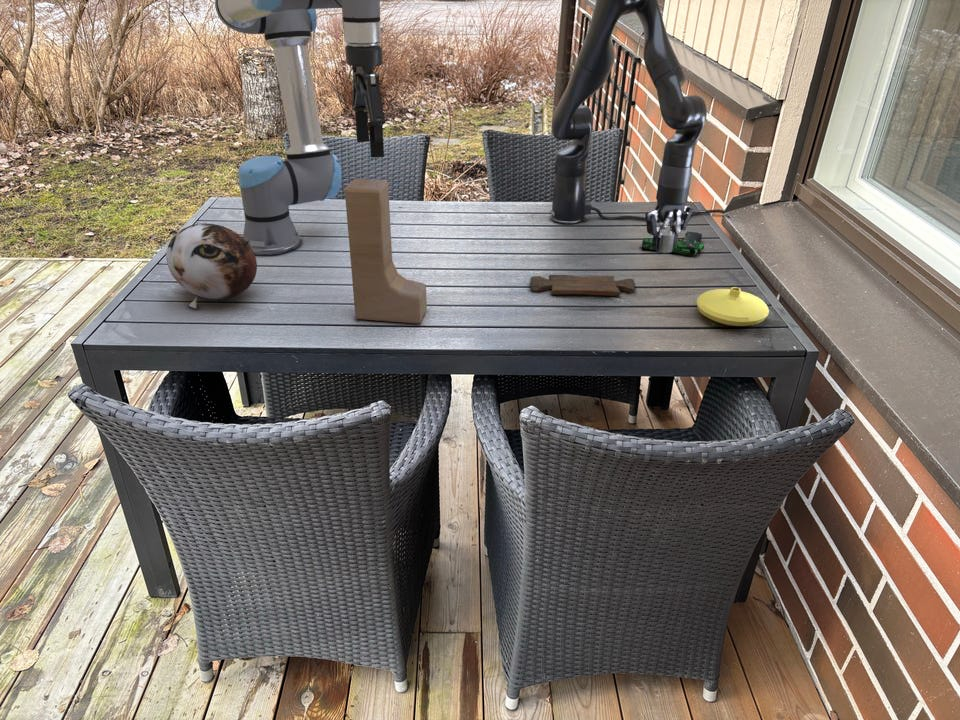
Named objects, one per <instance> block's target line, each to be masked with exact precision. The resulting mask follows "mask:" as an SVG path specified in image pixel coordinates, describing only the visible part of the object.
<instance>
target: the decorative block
mask: <svg viewBox="0 0 960 720" xmlns="http://www.w3.org/2000/svg"><path fill="white" fill-rule="evenodd" d="M344 198H345V199H344V200H345V209H346V221H347V222H346V223H347V234H348V235H347V236H348V246H349V257H350V266H351V267H350V268H351V270H350V271H351V278H352V279H351V281H352V293H353V306H354V316H355V319H357V320H366V321H367V320H369V321H380V322H391V323H404V324H405V323H406V324H421V322H422V320H423V318H424V316H425V314H426V312H427V309H428V305H427V302H428V301H427V300H428V299H427V285H426V283H424V282H419V281H415V280H411V279H407V278H406V277H404V276H403V275H401V274H400V273H398V270H397V268H396V265H395V263H394V261H393V248H392V231H391V228H392V227H391V211H390V210H391V209H390V192H389V182H388V180H386V179H378V178H377V179H375V178H360V177H359V178H353V179H352V181H351V182H350V183H348V185H346V186H345V188H344Z"/></svg>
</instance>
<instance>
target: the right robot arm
mask: <svg viewBox="0 0 960 720" xmlns="http://www.w3.org/2000/svg"><path fill="white" fill-rule="evenodd" d="M633 13H635V14H636V16H637V17H638V18H639V21H640V23H641V25H642V28H643V37H644V38H643V62H644V67H645V69H646V71H647V73H648V75H649V78H650V80H651V82H652V84H653V86H654V88H655V89H656V93H657V94H656V95H657V101H658V104H659V105H658V106H659V110H660V114H661V117H662V120H663V121H664V123H665V124H666V125H667V127H669V128H670V129H672V130H674V131H675V132H674V134H673V135H672V136H671V137H670V138H668V139H667V140H666V142H665V144H664V150H663V156H662V163H661V167H660V170H659V174H658V182H657V188H656V197H655V199H656V202H657V203H656V207H655V208H654V210H653V211H651V212H649V211H646V212H645V214H644V216H638V215H619V216H606V215H603V214H602V211H601V210H600V209H599V208H597V207H595V206H592V204H591V203H590V202H589V201H588V200H587V189H585V187H586V186H585V185H586V177H587V176H586V175H587V163H588V157H589V155H590V148H591V140H592V134H593V125H594V116H593V112H592V110H591V108H590V107H589V106H588V105H583V104H584V103H585V101H587V100H588V99H589V98H590V97H592V96H593V95H595V93H597V92H598V91H599V90H600V89H601V88H602V87H603V86H604V85H605V83H606V81H607V80H608V78H609V76H610V73H611V71H612V69H613V67H614V64H615V60H616V50H615V46H614V42H613V38H612V37H613V32H614V30H615V27H616V25H617V24H618V21H619V20H620V19H621V17H622V16H623V17H624V16H625V15H630V14H633ZM685 83H686V73H685V71H684V69H683V67H682V65H681V63H680V61H679V58H678V57H677V55H676V53H675V50H674V48H673V46H672V44H671V41H670V39H669V36H668V33H667V29H666V27H665V21H664V19H663V15H662V11H661V8H660V5H659V3H658V0H596V1H595V5H594V7H593V12H592V16H591V20H590V23H589V26H588V29H587V32H586V35H585V38H584V41H583V44H582V45H581V48H580V50H579V53H578V55H577V58H576V61H575V63H574V66H573V70H572V72H571V75H570V77H569V81H568V83H567V85H566V87H565V90H564V92H563V94H562V96H561V98H560V100H559V101H558V104H557V106H556V107H555V110H554V113H553V115H552V119H551V133H552V136H553V137H554V138H555V139H557V140H559V141H571V142H570V143H569V144H568V145H567V146H565V147H563V148H562V149H560V150H558V151H557V152H556V154H555V159H554V173H553V174H554V175H553V176H554V177H553V189H552V204H551V209H550V219H551V221H553V222H555V223H557V224H558V223H559V224H564V225H574V224H578V223H581V222H585V216H589V215H591V214H592V211H593V212H596V213H597V215H598V217H599V218H600V219H602V220H609V221H612V220H615V221H616V220H617V221H618V220H637V221H638V220H639V221H645V225H646V232H647V234H649V235H651V236H652V239H653V241H652V247H653V249H654V250H653V251H656V252H658V251H659V250H660V249H661V242H662V235H663V232H664V230H665V229H666V230H667V228H668V226H669V230H671V231H674V232H675V237H674V243H673V248H674V247H675V246H676V244H677V239H679V234H680V233H681V232H682V231H685V230H686V229H687V228H688V224H689V222H690V219H691V218H692V216H694V215H704V214H715V213H716V214H717V213H718V214H723V215H724V216H727V215H726V214H724V212H725V211H726V210H724V209H707V210H704V211H706V212H695V211H694V208H693V207H691V206H690V205H687V204H686V203H687V202H688V198H689V192H690V187H691V181H692V173H693V162H694V156H695V151H696V150H695V149H696V146H697V144H698V142H699V139H700V137H701V134H702V132H703V129H704V126H705V125H706V120H707V116H708V115H707V114H708V108H707V104H706V101H705V100H704V98H703V97H702V96H700V95H698V94H697V95H696V94H690V95H685V96H684V94H683V91H682V90H683V89H682V87H683V86H684V85H685ZM692 212H695V213H692ZM658 230H659V231H658Z"/></svg>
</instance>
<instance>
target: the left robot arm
mask: <svg viewBox="0 0 960 720" xmlns="http://www.w3.org/2000/svg"><path fill="white" fill-rule="evenodd" d="M214 8H215V13H216V14H217V16H218V18H219V19H220V21H221V22H222V23H223V25H225V26H226V27H228V28H229V29H231V30H233V31H235V32H238V33H241V34H247V35H264V40H265V43H266V44H267V45H268V46H269V47H271V49H272V51H273V57H274V61H275V67H276V72H277V79H278V83H279V89H280V94H281V101H282V107H283V111H284V117H285V123H286V128H287V133H288V138H289V139H288V140H289V145H290V146H289V148H288V149H287V151H286V152H285V154H286V160H283V158H282V157H281V156H279V155H273V154H271V155H260V156H257V157H253V158H250V159H248V160H245V161H244V162H243V163H241V165H240V166H239V167H238V170H237V174H238V186H239V190H240V196H241V201H242V208H243V212H244V213H243V215H244V219H245V220H244V226H243V228H244V229H243V235H240V236H241V237H243V238H244V239H245V240H246V241H249V242H248V244H249V245H250V247H251V248H252V250H253V252H254V254H255V256H256V255H257V256H275V255H281V254H282V255H283V254H285V253H289V252H291V251H293V250H296V249H297V248H298V247H299V246H300V244H301V241H300V235H299V233H298V231H297V229H296V227H295V225H294V223H293V220H292V218H291V216H290V207H289V206H295V205H301V204H307V203H312V202H313V203H314V202H318V201H319V202H323V201H325V200H328V199H332V198H335V197H337V195H338V194H339V193H340V189H341V187H342V180H343V179H342V178H343V177H342V175H343V174H342V168H341V167H342V166H341V163H340V161H339V158H338V157H337V155H335V154H334V153H331V149H330V147H329V146H328V145H326V144H325V142H324V141H323V140H324V139H323V135H322V128H321V123H320V116H319V111H318V105H317V98H316V92H315V87H314V86H315V85H314V80H313V75H312V74H313V73H312V68H311V62H310V61H311V60H310V56H309V49H308V45H309V44H310V42H311V40H312V39H313V38H312V37H313V36H312V33H313V32H314V31H315V30H316V29H317V25H318V22H317V19H318V15H317V10H323V9H324V10H326V9H341V11H342V28H343V39H344V40H343V41H344V42H345V43H346V45H345V47H344V50H345V52H344V53H345V63H346V64H347V66H350V67H351V69H352V95H351V105H352V107H353V110H354V120H355V130H356V131H355V133H356V142H357V143H368V142H369V150H370V158H371V159H374V158H384V157H385V147H384V128H383V127H384V125H386V119H385V113H384V107H383V100H382V99H383V98H382V93H381V87H380V75H379V73H375V70H374V68H375V67H380V66H381V65H383V63H384V58H383V46H382V45H381V44H380V43H381V42H382V32H383V31H384V25H381V23H382V22H381V3H380V0H214ZM178 232H179V231H176V230H175V229H173V230H171V231H170V232H168V235H169V236H170V235H173V234H174V235H176V234H177V233H178Z"/></svg>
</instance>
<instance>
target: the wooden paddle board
mask: <svg viewBox="0 0 960 720" xmlns="http://www.w3.org/2000/svg"><path fill="white" fill-rule="evenodd" d="M529 278H530V285H529V286H530V291H531V292H542V291H547V290H551V294H552V295H556V296H557V295H558V296H559V295H560V296H562V295H588V296H589V295H592V296H612V297H613V296H614V297H615V296H619V295H621V291H623V292H627V293H634V290H635V282H634V279H633V278H625V279H619V280H618V279H617V280H615V276H614V275H573V274H572V275H570V274H549V275H548V279H547V278H546V277H543V276H540V275H534V276H530V277H529Z"/></svg>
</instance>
